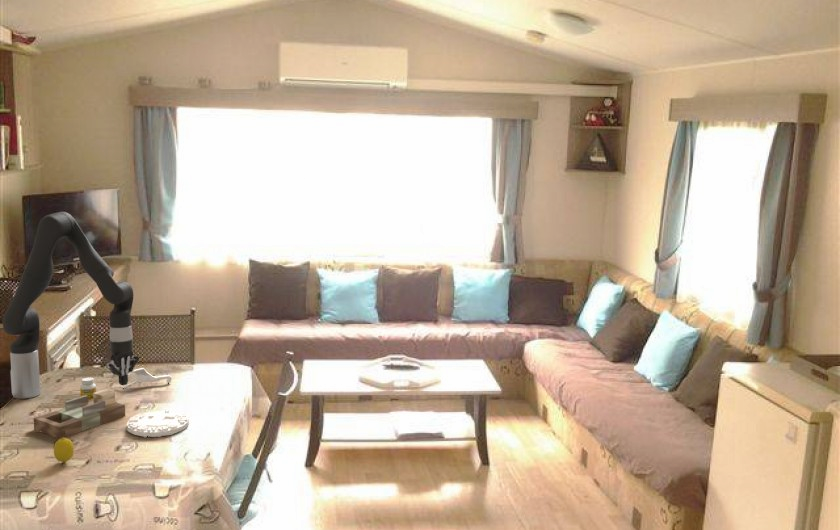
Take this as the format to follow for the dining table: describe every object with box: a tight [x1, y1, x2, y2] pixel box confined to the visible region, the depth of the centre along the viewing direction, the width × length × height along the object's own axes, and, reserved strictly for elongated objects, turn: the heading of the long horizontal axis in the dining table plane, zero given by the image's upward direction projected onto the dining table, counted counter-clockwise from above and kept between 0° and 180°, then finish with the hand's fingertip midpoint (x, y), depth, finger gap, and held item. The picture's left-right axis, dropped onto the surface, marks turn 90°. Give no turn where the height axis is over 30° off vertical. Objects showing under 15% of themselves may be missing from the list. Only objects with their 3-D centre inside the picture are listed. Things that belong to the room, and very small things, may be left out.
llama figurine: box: [121, 367, 173, 390], centre depth 295 cm, size 2×11×18 cm
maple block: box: [93, 388, 116, 406], centre depth 264 cm, size 5×5×4 cm
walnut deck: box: [33, 395, 126, 440], centre depth 256 cm, size 14×25×7 cm, turn 149°
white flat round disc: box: [126, 409, 190, 439], centre depth 255 cm, size 20×20×3 cm
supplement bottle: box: [79, 377, 97, 400], centre depth 273 cm, size 5×5×10 cm
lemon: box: [53, 437, 75, 464], centre depth 225 cm, size 6×6×8 cm
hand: (123, 384), depth 270 cm, fingers closed
